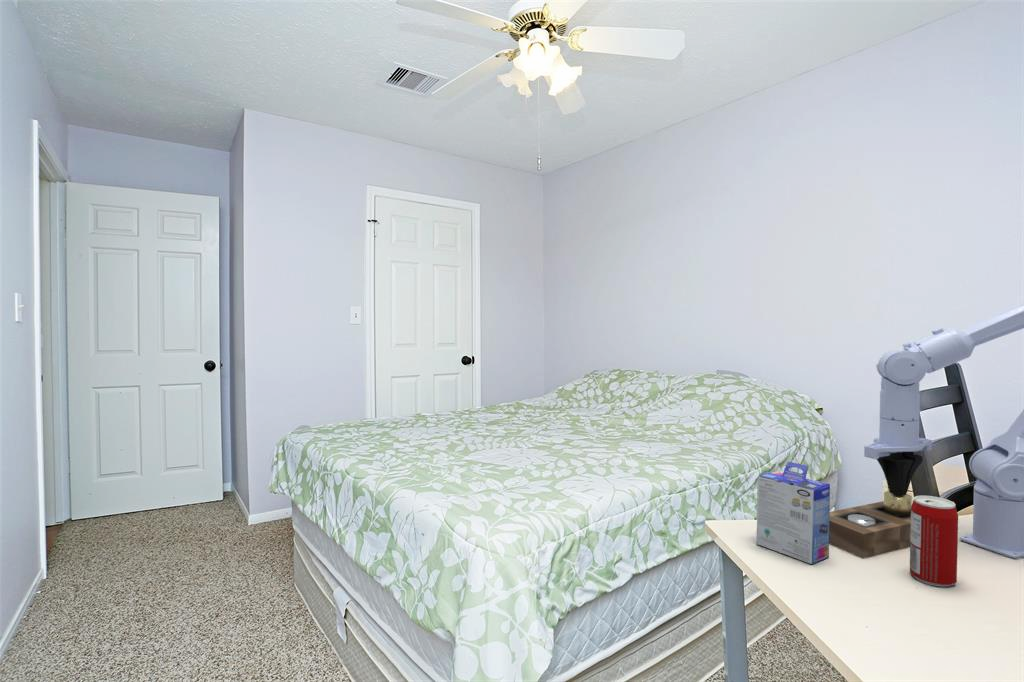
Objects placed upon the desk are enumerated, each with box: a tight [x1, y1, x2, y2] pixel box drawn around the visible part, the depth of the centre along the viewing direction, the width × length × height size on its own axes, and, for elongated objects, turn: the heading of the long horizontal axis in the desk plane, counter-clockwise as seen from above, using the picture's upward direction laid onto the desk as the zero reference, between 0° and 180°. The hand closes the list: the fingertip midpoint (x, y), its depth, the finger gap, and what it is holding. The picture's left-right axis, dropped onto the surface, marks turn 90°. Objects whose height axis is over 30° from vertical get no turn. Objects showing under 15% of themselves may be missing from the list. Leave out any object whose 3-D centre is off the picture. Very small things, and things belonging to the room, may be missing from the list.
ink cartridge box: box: [755, 461, 831, 565], centre depth 90 cm, size 10×6×14 cm, turn 34°
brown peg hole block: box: [829, 500, 911, 559], centre depth 95 cm, size 20×9×4 cm, turn 111°
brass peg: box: [883, 490, 913, 518], centre depth 97 cm, size 4×4×4 cm
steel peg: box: [848, 514, 875, 526], centre depth 94 cm, size 4×4×4 cm
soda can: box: [909, 495, 959, 588], centre depth 80 cm, size 6×6×12 cm
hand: (897, 494), depth 96 cm, fingers closed
